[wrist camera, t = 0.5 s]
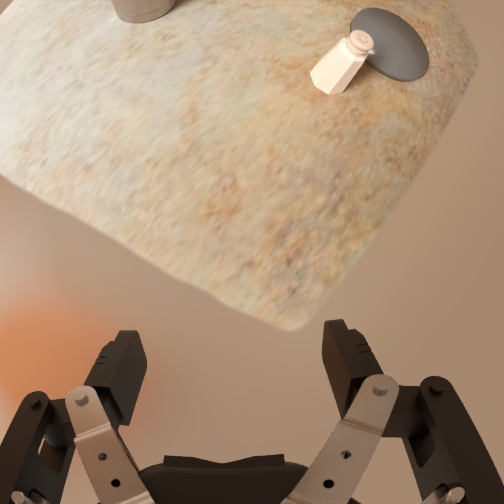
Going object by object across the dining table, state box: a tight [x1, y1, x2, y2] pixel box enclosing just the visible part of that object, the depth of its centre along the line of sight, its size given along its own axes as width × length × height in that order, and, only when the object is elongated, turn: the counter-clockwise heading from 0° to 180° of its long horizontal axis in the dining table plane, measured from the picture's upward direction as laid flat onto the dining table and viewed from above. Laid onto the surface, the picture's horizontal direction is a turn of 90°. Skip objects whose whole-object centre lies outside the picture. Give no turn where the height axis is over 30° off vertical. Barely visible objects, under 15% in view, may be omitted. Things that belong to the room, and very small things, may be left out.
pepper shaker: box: [310, 30, 374, 94], centre depth 30 cm, size 5×5×11 cm
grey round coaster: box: [350, 8, 429, 82], centre depth 36 cm, size 14×14×2 cm
